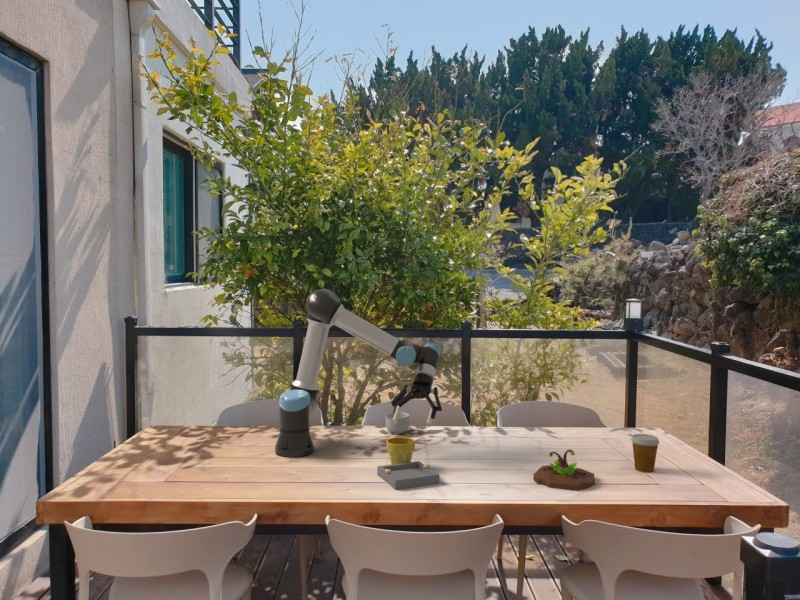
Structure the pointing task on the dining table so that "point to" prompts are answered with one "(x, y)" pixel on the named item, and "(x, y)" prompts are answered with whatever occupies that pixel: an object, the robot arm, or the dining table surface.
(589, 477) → the plant
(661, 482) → the dining table surface
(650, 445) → the disposable coffee cup
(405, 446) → the plant pot
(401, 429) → the teacup
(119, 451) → the dining table surface
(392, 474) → the base
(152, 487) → the dining table surface
